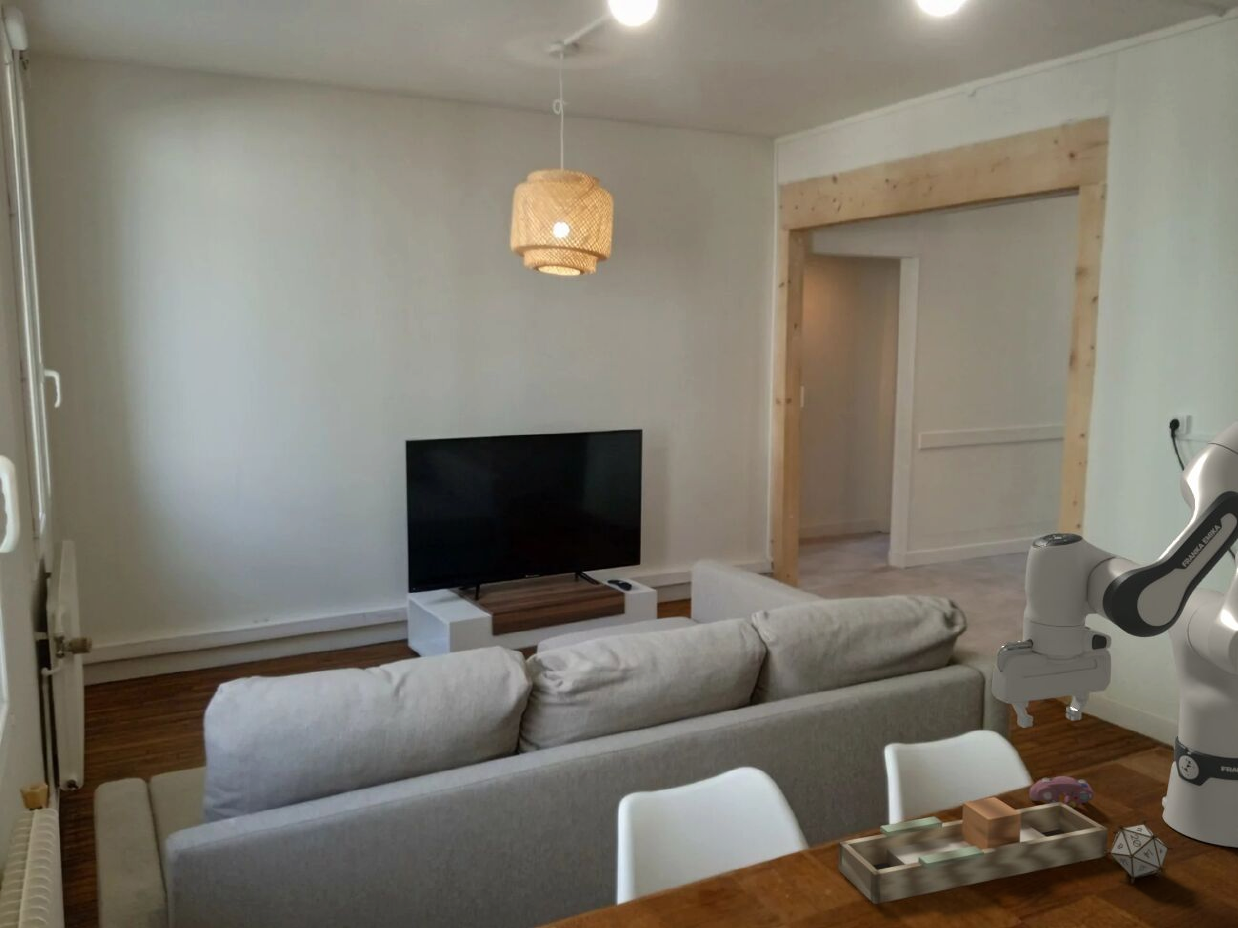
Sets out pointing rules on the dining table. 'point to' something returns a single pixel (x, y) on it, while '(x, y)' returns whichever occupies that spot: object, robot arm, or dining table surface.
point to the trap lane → (965, 853)
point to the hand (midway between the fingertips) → (1049, 722)
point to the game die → (1138, 850)
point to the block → (990, 823)
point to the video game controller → (1062, 791)
